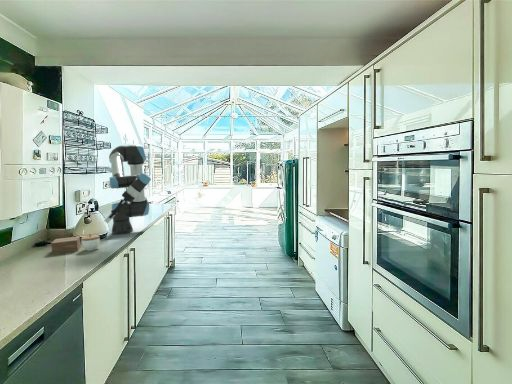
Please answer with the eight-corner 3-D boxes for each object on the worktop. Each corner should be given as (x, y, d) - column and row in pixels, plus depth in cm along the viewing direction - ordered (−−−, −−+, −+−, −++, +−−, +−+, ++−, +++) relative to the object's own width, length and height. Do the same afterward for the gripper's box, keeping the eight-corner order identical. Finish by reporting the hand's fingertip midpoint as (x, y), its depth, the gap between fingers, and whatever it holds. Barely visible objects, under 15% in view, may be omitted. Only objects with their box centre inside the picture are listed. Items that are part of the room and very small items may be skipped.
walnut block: (56, 249, 249) (55, 239, 248) (80, 247, 253) (79, 236, 252) (52, 254, 235) (51, 243, 235) (77, 251, 239) (76, 240, 239)
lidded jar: (88, 252, 234) (86, 236, 233) (78, 250, 241) (76, 235, 240) (104, 248, 243) (102, 233, 242) (94, 246, 249) (93, 232, 248)
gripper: (134, 199, 235) (110, 227, 232) (136, 196, 259) (114, 222, 256) (124, 191, 233) (99, 219, 231) (127, 189, 257) (104, 214, 255)
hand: (107, 220), depth 243 cm, fingers open, 13 cm apart
